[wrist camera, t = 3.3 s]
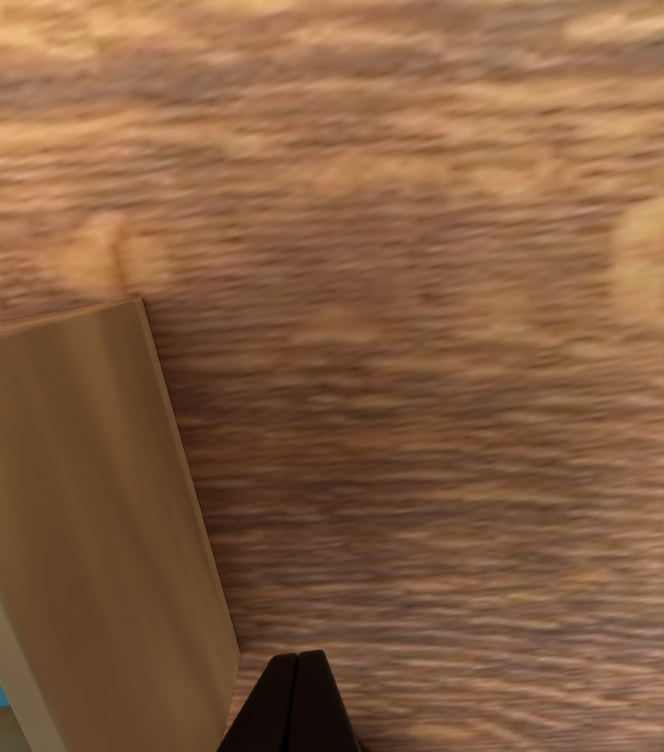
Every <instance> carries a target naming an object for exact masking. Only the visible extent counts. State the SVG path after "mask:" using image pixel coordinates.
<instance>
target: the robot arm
mask: <svg viewBox="0 0 664 752" xmlns="http://www.w3.org/2000/svg"><path fill="white" fill-rule="evenodd" d="M216 752H367V751H366V750H365V749H364V748H363V747H362V746H361V745H360V744H359V743H358V741H357V739H356V736H355V733H354V731H353V728H352V725H351V722H350V720H349V717H348V714H347V712H346V709H345V706H344V704H343V701H342V698H341V695H340V693H339V690H338V687H337V685H336V682H335V679H334V677H333V674H332V671H331V669H330V666H329V663H328V660H327V658H326V655H325V653H324V651H323V650H320V649H319V650H312V651H304V652H301V653H300V654H299V656H298V654H296V653H289V654H281V655H275V656H274V657H273V658H272V659H271V660H270V662H269V663H268V665H267V667H266V668H265V670H264V672H263V673H262V675H261V677H260V678H259V680H258V682H257V683H256V685H255V687H254V688H253V690H252V692H251V694H250V695H249V697H248V699H247V700H246V702H245V704H244V705H243V707H242V709H241V710H240V712H239V714H238V715H237V717H236V719H235V720H234V722H233V724H232V726H231V727H230V729H229V731H228V732H227V734H226V736H225V737H224V739H223V741H222V742H221V744H220V746H219V747H218V749H217V751H216Z"/></svg>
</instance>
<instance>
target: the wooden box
mask: <svg viewBox="0 0 664 752" xmlns="http://www.w3.org/2000/svg"><path fill="white" fill-rule="evenodd" d="M240 658H241V654H240V650H239V646H238V643H237V639H236V636H235V632H234V628H233V625H232V621H231V618H230V614H229V610H228V607H227V603H226V600H225V596H224V592H223V589H222V585H221V582H220V578H219V574H218V571H217V567H216V564H215V560H214V556H213V553H212V549H211V546H210V542H209V538H208V535H207V531H206V528H205V524H204V520H203V517H202V513H201V510H200V506H199V502H198V499H197V495H196V492H195V488H194V484H193V481H192V477H191V474H190V470H189V466H188V463H187V459H186V456H185V452H184V448H183V445H182V441H181V438H180V434H179V430H178V427H177V423H176V420H175V416H174V412H173V409H172V405H171V402H170V398H169V394H168V391H167V387H166V384H165V380H164V376H163V373H162V369H161V366H160V362H159V358H158V355H157V351H156V348H155V344H154V340H153V337H152V333H151V330H150V326H149V322H148V319H147V315H146V312H145V308H144V304H143V301H142V299H141V298H139V297H138V298H132V299H126V300H120V301H114V302H108V303H103V304H97V305H91V306H85V307H79V308H73V309H67V310H61V311H55V312H50V313H44V314H38V315H32V316H26V317H20V318H14V319H8V320H3V321H0V684H1V686H2V688H3V691H4V693H5V695H6V697H7V699H8V701H9V703H10V705H11V706H6V707H0V752H216V751H217V749H218V747H219V746H220V744H221V742H222V740H223V735H224V731H225V726H226V722H227V717H228V713H229V708H230V703H231V699H232V694H233V690H234V685H235V681H236V676H237V672H238V667H239V662H240Z"/></svg>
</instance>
